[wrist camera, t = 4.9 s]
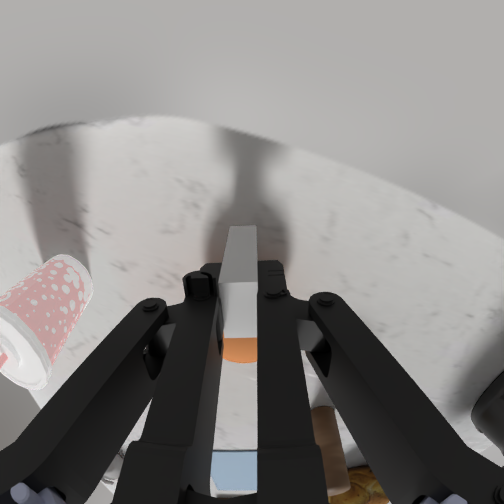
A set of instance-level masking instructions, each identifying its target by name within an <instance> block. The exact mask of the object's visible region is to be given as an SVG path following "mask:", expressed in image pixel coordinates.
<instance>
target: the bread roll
mask: <svg viewBox="0 0 504 504" xmlns="http://www.w3.org/2000/svg"><path fill="white" fill-rule="evenodd" d="M347 471H348V476H349V481H350V486H351V488H350V489H349V490H348V491H346V492H344V493H341V494H338V495H334V496H328V500H329V503H331V504H387V503H388V502H389V501H390V500H389V499H388V497H387V496H386V494H385V493H384V491H383V489H382V488H381V486H380V484H379V482H378V481H377V479H376V477H375V475H374V474H373V472H372V470H371V468H370V467H369V466H360V467H357V468H352V469H348V470H347Z"/></svg>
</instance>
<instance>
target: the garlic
mask: <svg viewBox="0 0 504 504" xmlns="http://www.w3.org/2000/svg"><path fill="white" fill-rule="evenodd" d="M123 461H124V460H123V459H122V458H121V457H120V456H119V455H118V454H117V455H116V456H115V458H114V459H113V461H112V463H111V464H110V466H109V467H108V469H107V471H106V472H105V474H104V475H103V477H102V479H101V480H102V481H103V482H104V483H106V484H111V485H113V484H114V482H112V481H107V480H105V479H109V480H114V479H118V478H119V475H120V471H121V468H122V464H123ZM104 478H105V479H104Z"/></svg>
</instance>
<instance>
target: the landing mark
mask: <svg viewBox="0 0 504 504" xmlns="http://www.w3.org/2000/svg"><path fill="white" fill-rule="evenodd" d="M211 476H212V479H213V481H214V483H215V485H216V487H217V489H218V490H257V451H213V453H212V463H211Z"/></svg>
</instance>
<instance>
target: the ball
mask: <svg viewBox="0 0 504 504" xmlns="http://www.w3.org/2000/svg"><path fill="white" fill-rule="evenodd" d="M223 343H224V349H223V358H224V359H226V360H228V361H231V362H236V363H252V362H256V361H257V337H253V338H224V331H223Z"/></svg>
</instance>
